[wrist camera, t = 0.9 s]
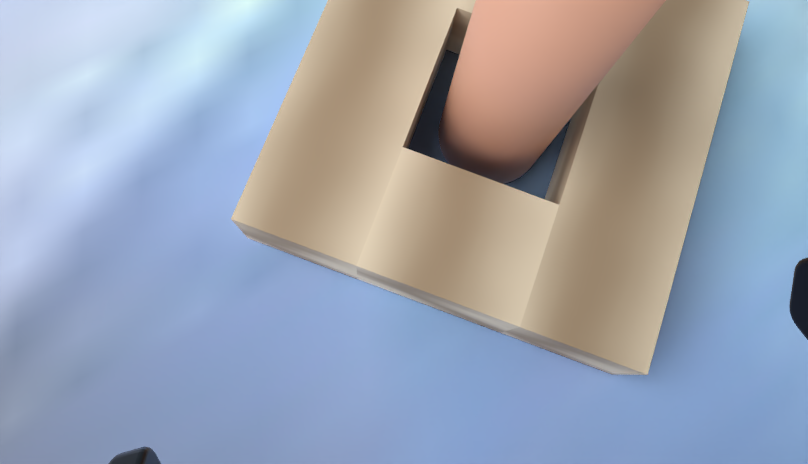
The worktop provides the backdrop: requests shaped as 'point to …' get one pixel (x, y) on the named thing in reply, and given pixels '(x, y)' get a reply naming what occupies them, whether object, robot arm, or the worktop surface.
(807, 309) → the robot arm
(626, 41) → the terracotta peg
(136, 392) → the worktop surface
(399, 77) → the pocket block
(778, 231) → the worktop surface
